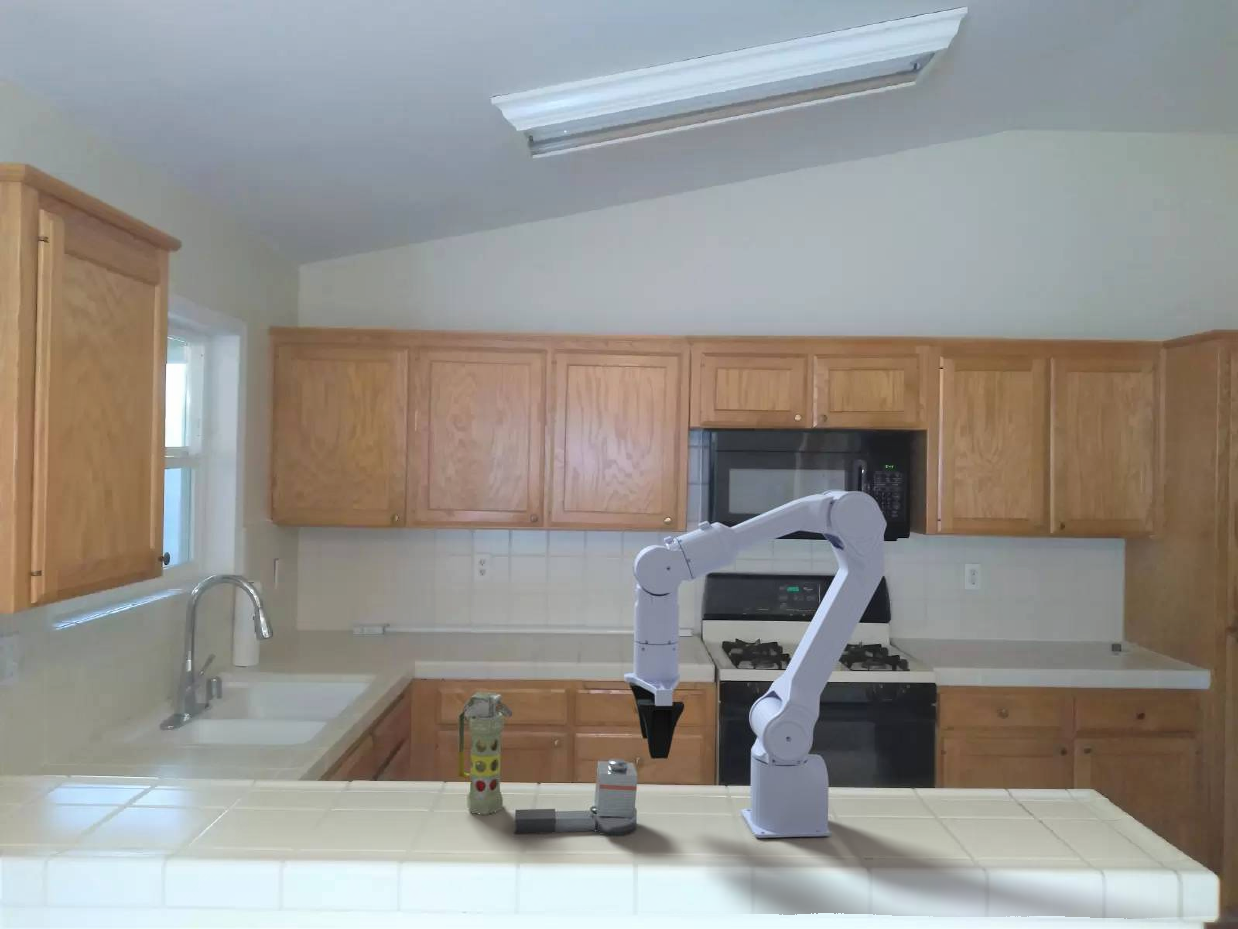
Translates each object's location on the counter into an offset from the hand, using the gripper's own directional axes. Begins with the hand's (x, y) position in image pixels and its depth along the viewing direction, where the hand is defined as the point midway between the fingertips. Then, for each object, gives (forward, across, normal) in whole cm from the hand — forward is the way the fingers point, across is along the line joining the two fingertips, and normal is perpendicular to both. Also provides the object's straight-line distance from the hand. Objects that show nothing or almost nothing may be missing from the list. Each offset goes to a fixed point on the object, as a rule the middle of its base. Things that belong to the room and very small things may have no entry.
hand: (654, 747), depth 110 cm
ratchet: (+10, 0, -10) cm, 14 cm away
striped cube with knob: (+8, 0, -5) cm, 9 cm away
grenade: (+10, -8, -22) cm, 25 cm away
